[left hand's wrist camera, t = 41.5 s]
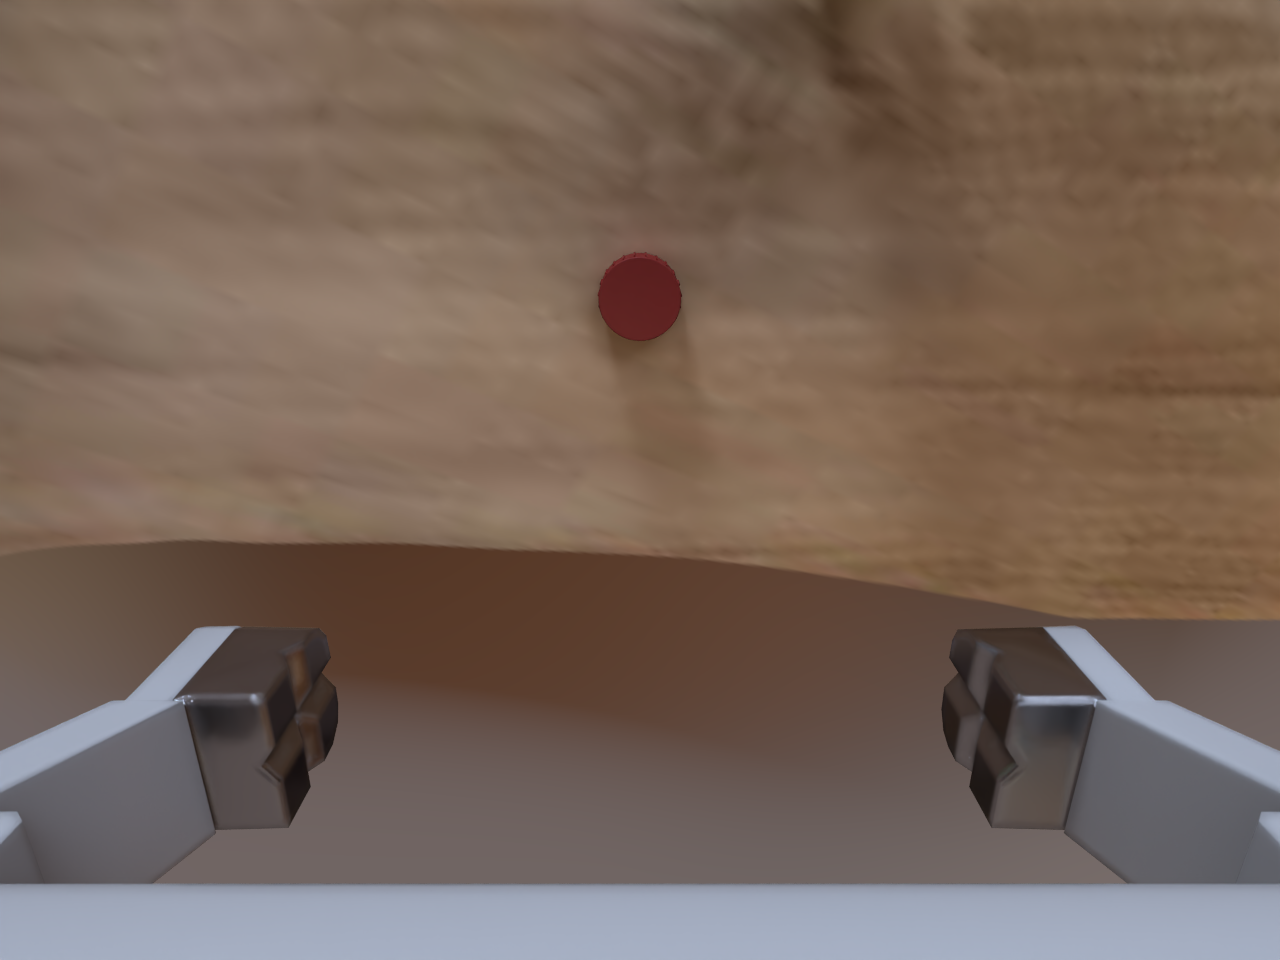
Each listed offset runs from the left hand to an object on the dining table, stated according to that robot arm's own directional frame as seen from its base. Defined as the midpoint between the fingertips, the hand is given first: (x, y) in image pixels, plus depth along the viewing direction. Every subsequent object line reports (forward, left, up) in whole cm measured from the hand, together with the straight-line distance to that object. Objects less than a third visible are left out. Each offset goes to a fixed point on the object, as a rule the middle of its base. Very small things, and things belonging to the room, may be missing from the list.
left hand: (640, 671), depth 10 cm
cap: (0, 0, -32) cm, 32 cm away
